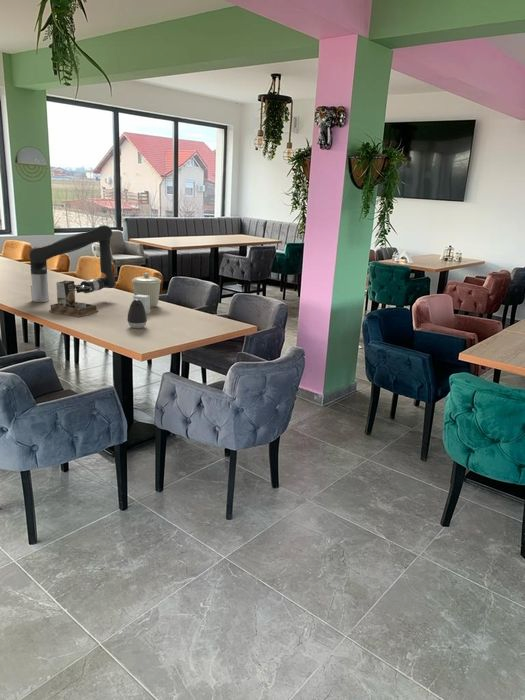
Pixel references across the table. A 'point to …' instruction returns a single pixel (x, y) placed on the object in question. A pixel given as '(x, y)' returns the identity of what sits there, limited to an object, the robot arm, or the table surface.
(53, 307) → the caddy
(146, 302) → the small box
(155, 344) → the table surface
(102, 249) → the robot arm
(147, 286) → the canister
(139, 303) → the black and white dome
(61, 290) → the coffee box
